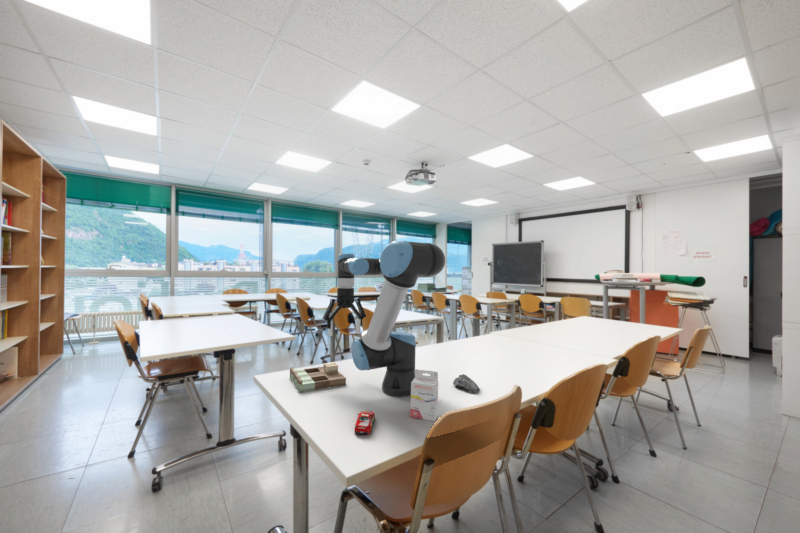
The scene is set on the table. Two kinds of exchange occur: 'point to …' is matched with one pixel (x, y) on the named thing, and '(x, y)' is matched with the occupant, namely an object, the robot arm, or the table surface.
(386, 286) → the robot arm
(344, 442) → the table surface
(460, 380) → the fossilized seashell
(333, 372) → the birch block
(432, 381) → the ink cartridge box
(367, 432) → the race car
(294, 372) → the multicoloured piece
